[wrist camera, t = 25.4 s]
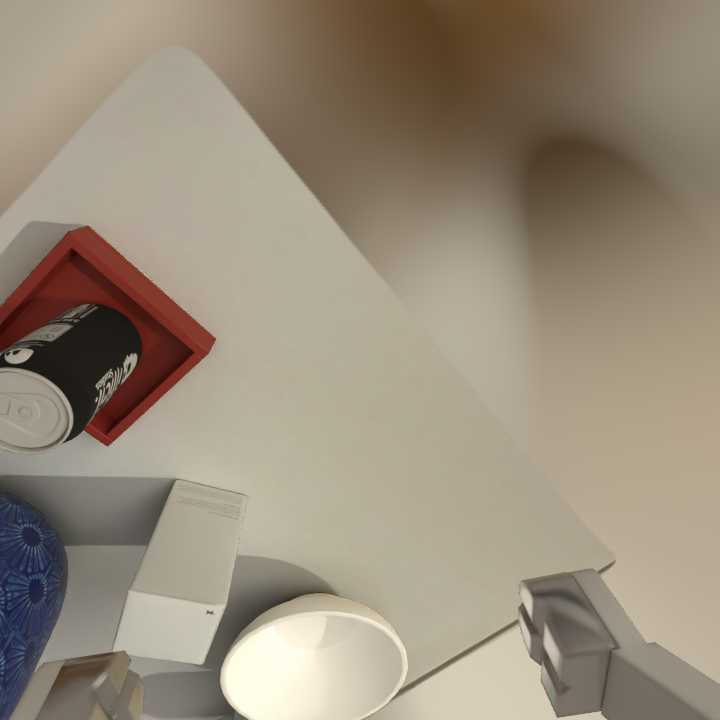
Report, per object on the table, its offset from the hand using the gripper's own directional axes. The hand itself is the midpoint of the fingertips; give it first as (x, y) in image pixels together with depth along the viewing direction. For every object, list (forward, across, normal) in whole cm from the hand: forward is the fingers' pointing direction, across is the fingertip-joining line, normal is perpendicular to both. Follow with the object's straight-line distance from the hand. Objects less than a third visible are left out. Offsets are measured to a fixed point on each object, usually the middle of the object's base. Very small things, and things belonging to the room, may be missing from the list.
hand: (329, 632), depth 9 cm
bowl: (+31, +7, +40) cm, 51 cm away
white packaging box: (+31, +15, +22) cm, 41 cm away
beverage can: (+31, +18, +2) cm, 36 cm away
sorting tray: (+31, +18, +2) cm, 36 cm away
